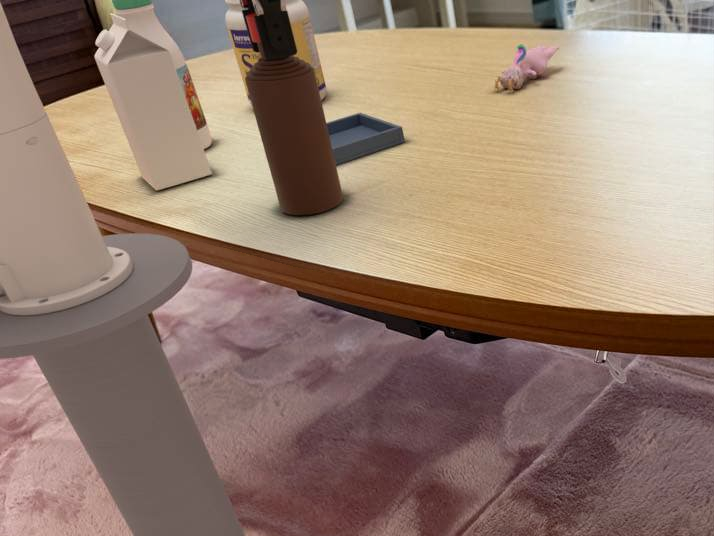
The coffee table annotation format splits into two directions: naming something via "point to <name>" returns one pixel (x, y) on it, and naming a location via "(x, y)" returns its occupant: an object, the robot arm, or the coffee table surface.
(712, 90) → the coffee table surface
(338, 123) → the tray
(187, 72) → the milk bottle
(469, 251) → the coffee table surface
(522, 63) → the pink elongated figure
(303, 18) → the supplement tub
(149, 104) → the milk carton
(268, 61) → the bottle
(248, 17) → the cap
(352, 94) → the coffee table surface
